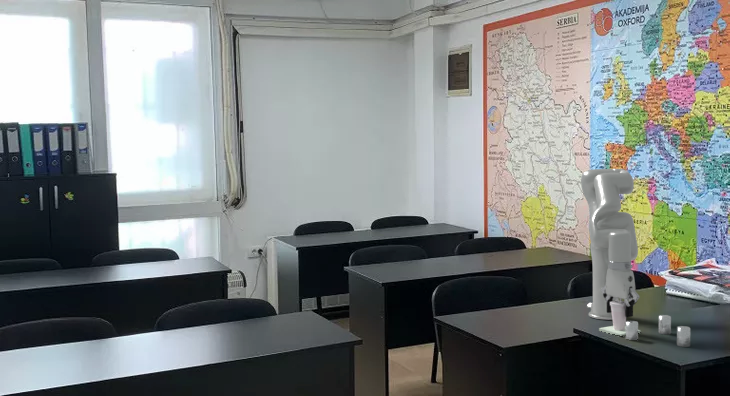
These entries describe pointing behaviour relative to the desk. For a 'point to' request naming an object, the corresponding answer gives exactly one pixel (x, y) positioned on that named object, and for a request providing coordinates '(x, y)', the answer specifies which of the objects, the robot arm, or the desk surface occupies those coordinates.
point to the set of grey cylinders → (661, 330)
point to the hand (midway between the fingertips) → (619, 314)
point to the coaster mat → (613, 331)
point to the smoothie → (618, 314)
